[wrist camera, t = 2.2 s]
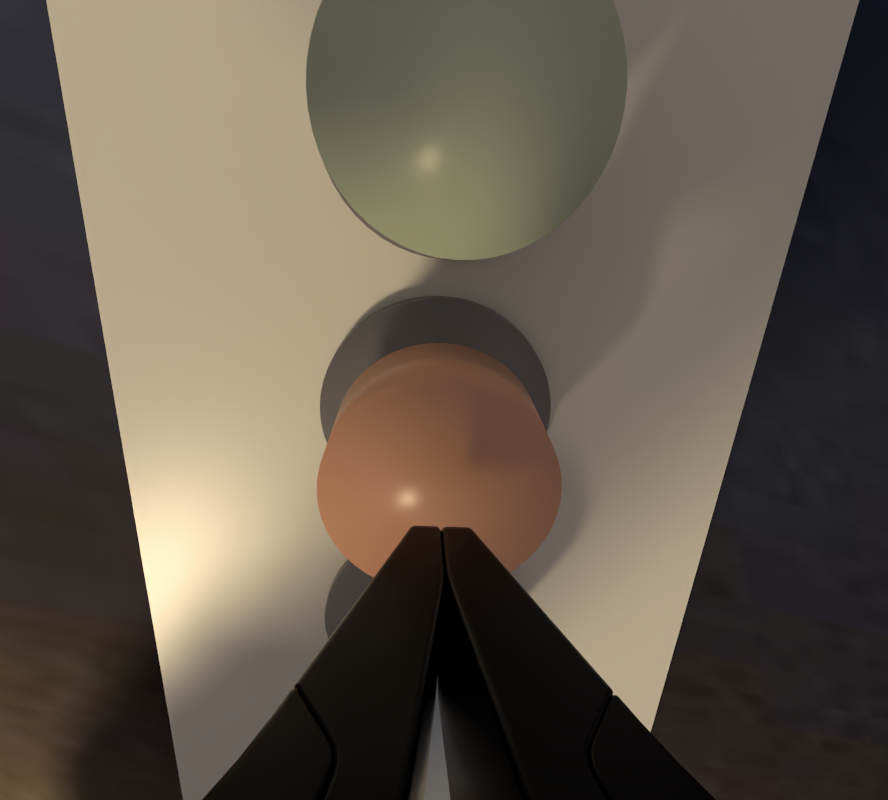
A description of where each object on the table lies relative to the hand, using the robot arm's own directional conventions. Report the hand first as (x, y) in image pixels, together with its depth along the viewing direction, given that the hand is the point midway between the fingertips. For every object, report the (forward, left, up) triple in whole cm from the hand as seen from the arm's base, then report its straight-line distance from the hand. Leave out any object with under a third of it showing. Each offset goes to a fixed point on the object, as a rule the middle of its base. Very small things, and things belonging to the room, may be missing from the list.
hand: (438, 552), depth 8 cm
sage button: (+6, 0, -3) cm, 7 cm away
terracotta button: (0, 0, -3) cm, 3 cm away
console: (-3, 0, -7) cm, 8 cm away
